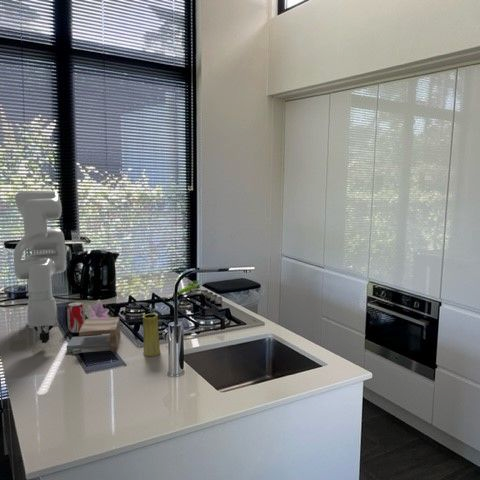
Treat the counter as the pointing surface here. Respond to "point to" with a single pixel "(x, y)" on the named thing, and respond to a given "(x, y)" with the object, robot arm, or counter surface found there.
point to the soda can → (75, 316)
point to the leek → (186, 289)
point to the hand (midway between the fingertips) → (45, 341)
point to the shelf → (101, 327)
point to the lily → (98, 311)
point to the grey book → (88, 342)
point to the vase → (151, 335)
